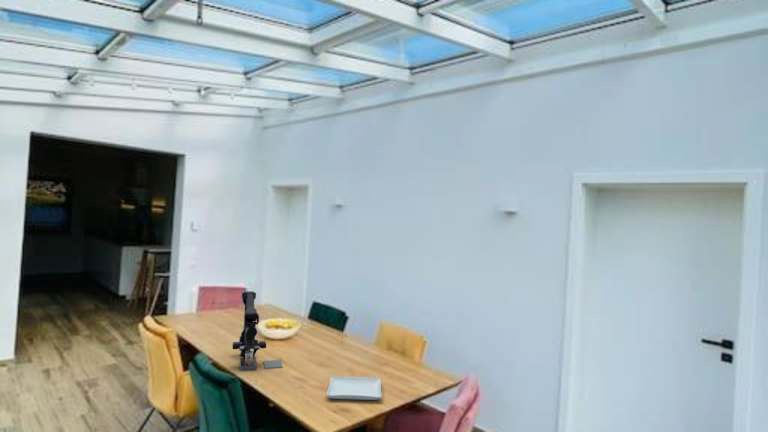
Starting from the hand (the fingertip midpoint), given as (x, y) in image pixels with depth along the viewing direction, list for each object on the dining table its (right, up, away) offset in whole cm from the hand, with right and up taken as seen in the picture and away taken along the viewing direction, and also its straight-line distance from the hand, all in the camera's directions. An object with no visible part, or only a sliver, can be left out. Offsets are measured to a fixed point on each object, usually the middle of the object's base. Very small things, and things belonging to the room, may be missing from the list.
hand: (248, 359), depth 268 cm
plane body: (0, -4, 0) cm, 4 cm away
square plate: (+64, -7, -32) cm, 72 cm away
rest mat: (+13, -4, +4) cm, 14 cm away
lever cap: (0, -1, 0) cm, 0 cm away
